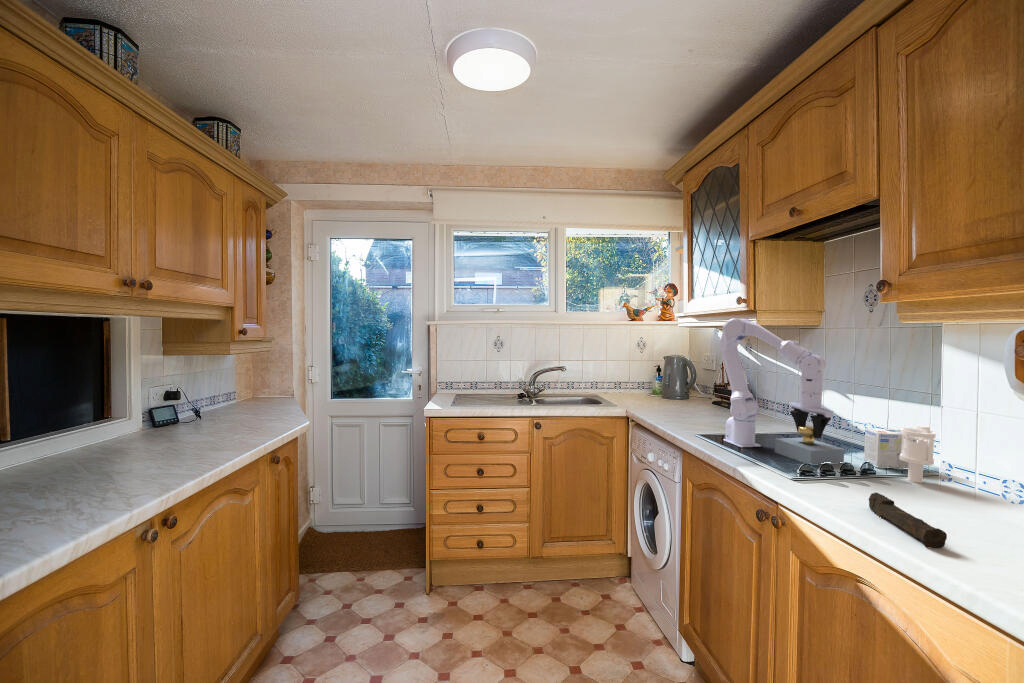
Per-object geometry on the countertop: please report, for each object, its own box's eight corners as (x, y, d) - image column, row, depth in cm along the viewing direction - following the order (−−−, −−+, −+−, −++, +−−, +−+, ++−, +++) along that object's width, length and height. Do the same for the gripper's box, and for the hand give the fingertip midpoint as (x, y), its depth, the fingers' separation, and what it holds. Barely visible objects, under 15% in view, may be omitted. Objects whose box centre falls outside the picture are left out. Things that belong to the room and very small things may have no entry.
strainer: (939, 484, 123) (942, 429, 122) (920, 486, 121) (923, 430, 120) (909, 475, 130) (913, 423, 129) (891, 477, 128) (894, 424, 127)
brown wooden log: (947, 550, 87) (949, 527, 87) (924, 548, 88) (925, 525, 87) (882, 510, 106) (884, 490, 106) (863, 509, 106) (864, 489, 106)
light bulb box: (899, 463, 141) (901, 428, 141) (916, 470, 135) (918, 434, 134) (862, 461, 142) (864, 427, 142) (877, 468, 136) (879, 432, 135)
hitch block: (774, 452, 151) (775, 438, 151) (805, 450, 154) (806, 437, 153) (810, 465, 138) (811, 450, 137) (843, 463, 140) (844, 449, 140)
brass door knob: (793, 444, 147) (794, 425, 147) (807, 443, 149) (808, 425, 148) (808, 449, 142) (809, 429, 142) (823, 448, 143) (824, 429, 143)
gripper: (782, 389, 151) (780, 430, 151) (820, 396, 137) (818, 441, 137) (800, 389, 152) (798, 429, 153) (839, 396, 138) (837, 440, 139)
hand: (809, 435), depth 145 cm, fingers closed on brass door knob, 6 cm apart
